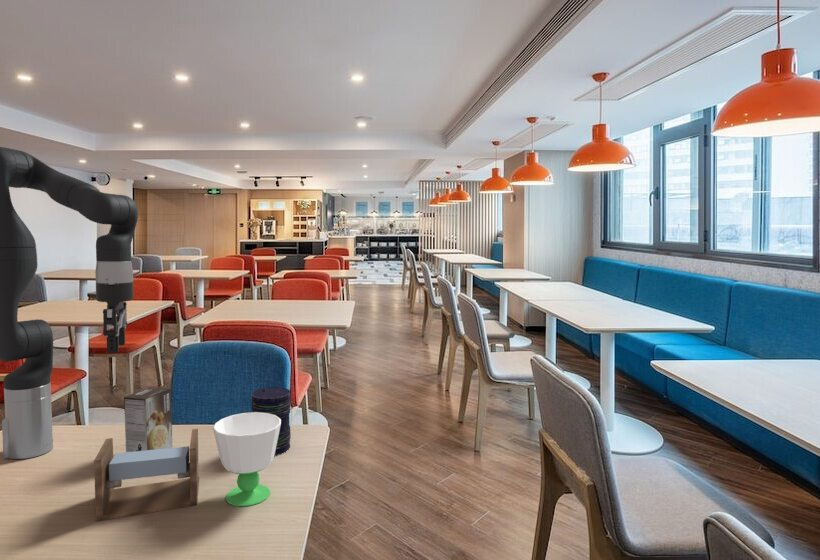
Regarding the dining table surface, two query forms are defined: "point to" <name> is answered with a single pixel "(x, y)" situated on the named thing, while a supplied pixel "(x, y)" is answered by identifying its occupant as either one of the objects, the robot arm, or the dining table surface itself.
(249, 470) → the cup
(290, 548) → the dining table surface
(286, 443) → the dark blue cylinder
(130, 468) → the light blue rectangular block
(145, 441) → the coffee box
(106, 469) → the peg frame
